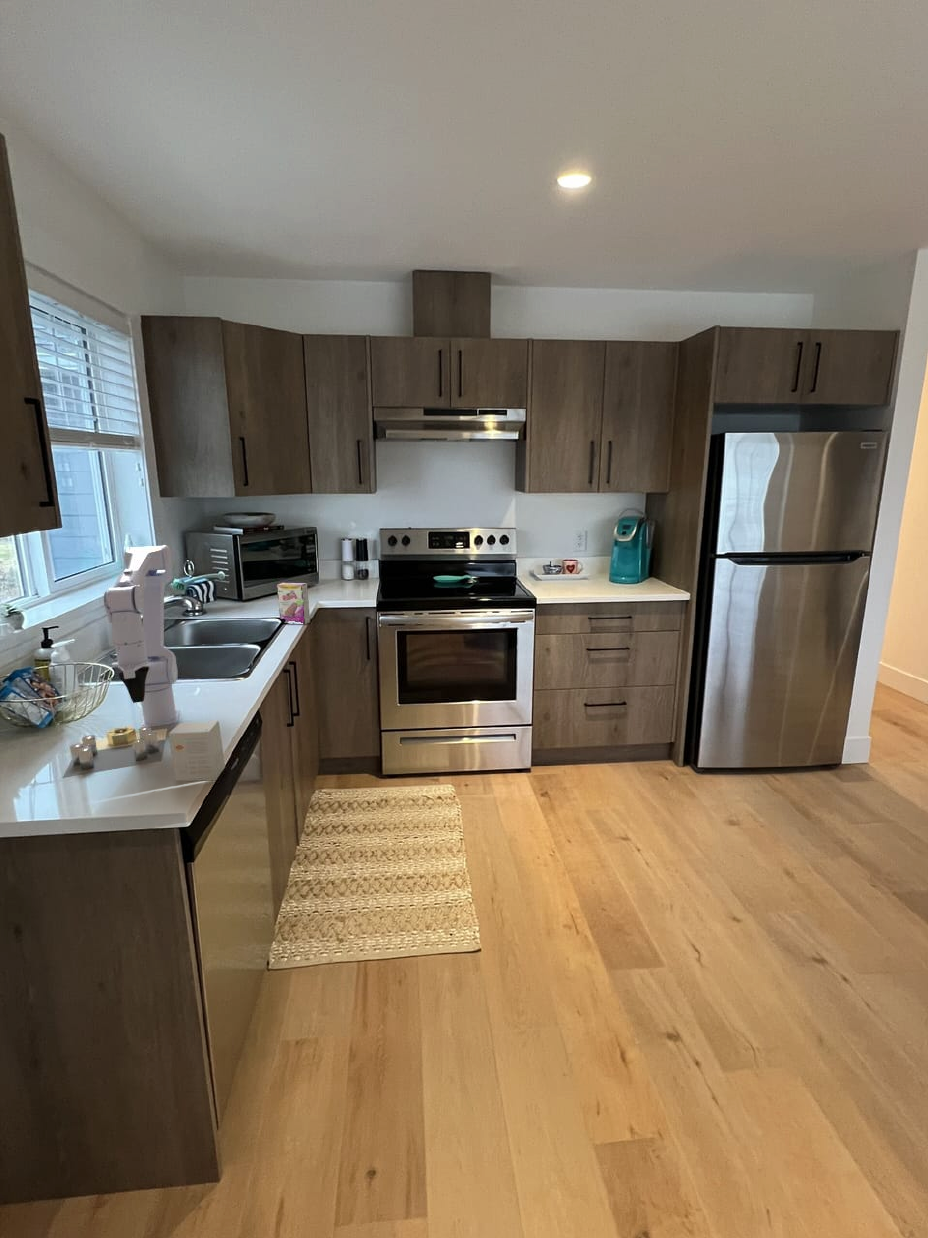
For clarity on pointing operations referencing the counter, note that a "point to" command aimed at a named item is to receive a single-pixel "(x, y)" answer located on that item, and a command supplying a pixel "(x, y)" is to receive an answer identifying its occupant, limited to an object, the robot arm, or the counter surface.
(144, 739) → the standing spacers
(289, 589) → the candy bar box
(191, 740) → the small box
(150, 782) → the counter surface
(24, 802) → the counter surface
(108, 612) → the robot arm
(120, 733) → the brass nut
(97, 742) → the spacer mat
